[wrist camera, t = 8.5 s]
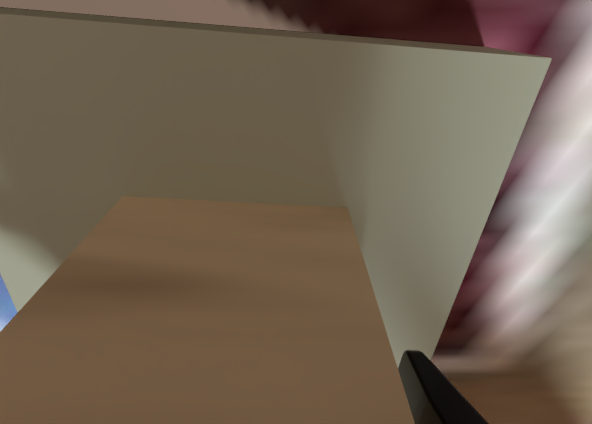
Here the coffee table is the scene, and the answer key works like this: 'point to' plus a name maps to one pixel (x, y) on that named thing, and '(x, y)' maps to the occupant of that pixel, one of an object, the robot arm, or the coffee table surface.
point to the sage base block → (259, 140)
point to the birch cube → (205, 323)
